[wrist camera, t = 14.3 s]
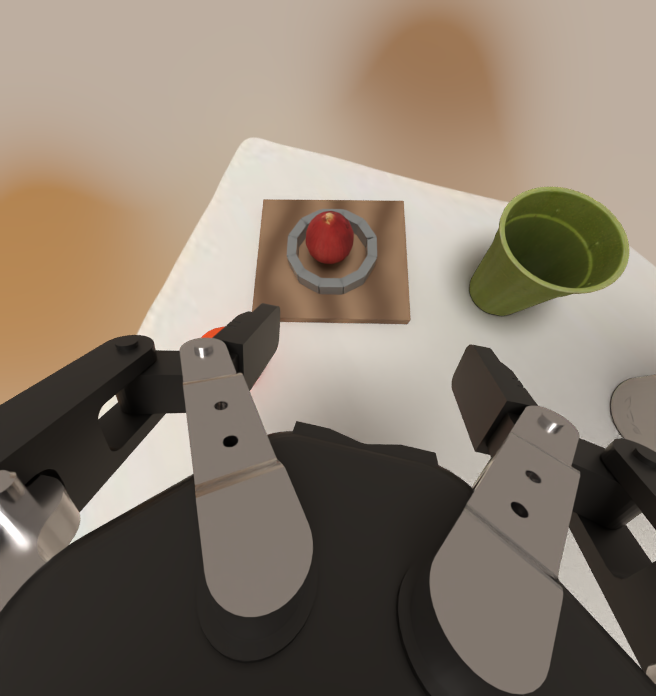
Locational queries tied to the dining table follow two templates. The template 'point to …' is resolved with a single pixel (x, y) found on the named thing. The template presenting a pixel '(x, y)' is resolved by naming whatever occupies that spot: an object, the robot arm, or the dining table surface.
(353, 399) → the dining table surface
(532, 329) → the dining table surface
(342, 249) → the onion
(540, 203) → the plant pot
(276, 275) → the board
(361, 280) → the ring
